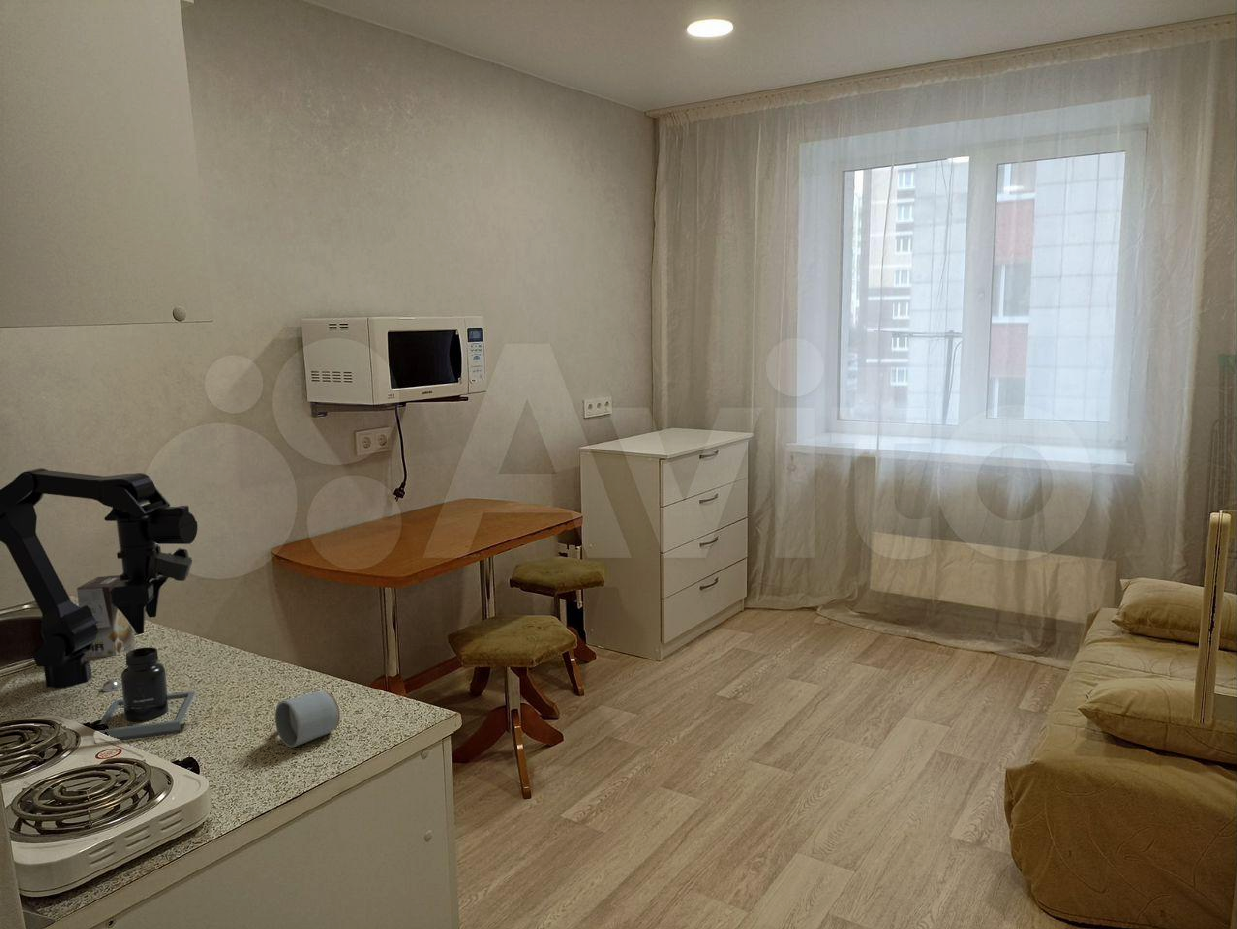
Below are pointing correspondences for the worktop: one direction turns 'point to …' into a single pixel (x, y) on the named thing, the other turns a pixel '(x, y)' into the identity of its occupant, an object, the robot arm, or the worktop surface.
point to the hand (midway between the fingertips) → (146, 624)
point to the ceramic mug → (306, 717)
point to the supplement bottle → (144, 686)
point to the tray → (152, 728)
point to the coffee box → (106, 618)
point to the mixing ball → (111, 686)
